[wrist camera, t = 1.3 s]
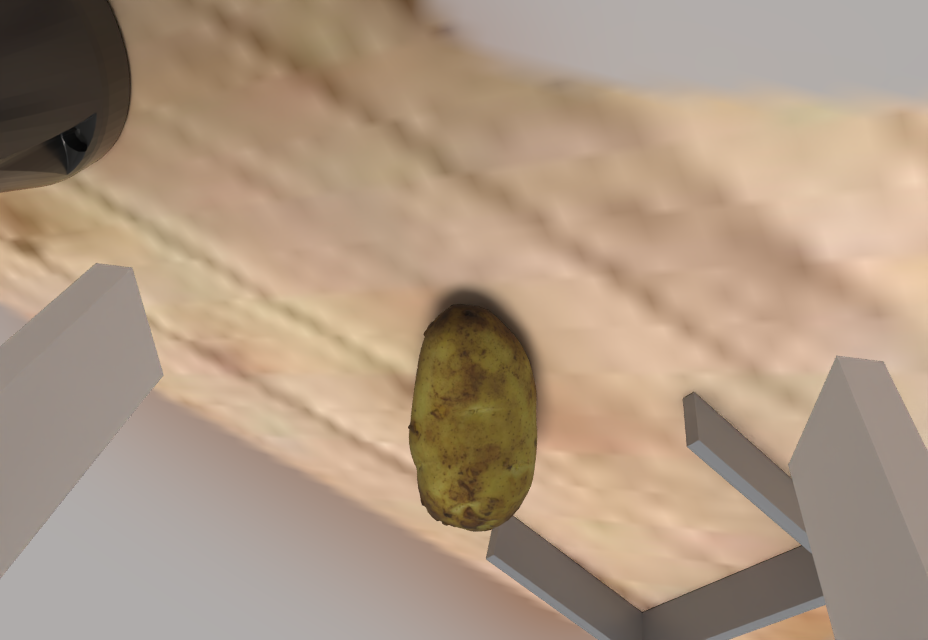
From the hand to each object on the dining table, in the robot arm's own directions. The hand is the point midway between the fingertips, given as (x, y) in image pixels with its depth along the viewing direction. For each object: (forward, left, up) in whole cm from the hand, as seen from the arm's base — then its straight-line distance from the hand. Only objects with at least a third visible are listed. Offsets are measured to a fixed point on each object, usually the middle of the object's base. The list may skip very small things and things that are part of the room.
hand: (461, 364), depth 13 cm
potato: (-5, -19, -23) cm, 31 cm away
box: (+6, -31, -23) cm, 39 cm away
